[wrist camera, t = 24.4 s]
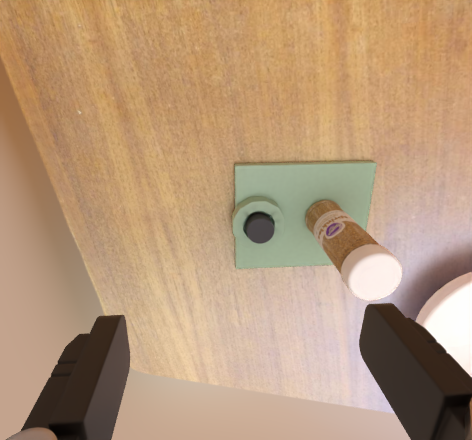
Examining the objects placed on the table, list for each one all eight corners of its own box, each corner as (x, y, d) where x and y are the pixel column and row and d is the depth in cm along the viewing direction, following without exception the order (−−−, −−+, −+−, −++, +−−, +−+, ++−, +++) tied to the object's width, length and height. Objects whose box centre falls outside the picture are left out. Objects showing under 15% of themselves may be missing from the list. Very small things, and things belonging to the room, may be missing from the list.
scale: (231, 264, 41) (233, 277, 39) (230, 163, 36) (232, 169, 34) (356, 259, 42) (367, 271, 40) (372, 160, 38) (385, 166, 35)
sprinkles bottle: (319, 192, 37) (375, 244, 25) (349, 211, 38) (416, 270, 26) (296, 223, 39) (337, 288, 26) (325, 241, 40) (378, 311, 27)
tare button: (245, 237, 37) (246, 244, 36) (245, 213, 36) (247, 219, 34) (271, 236, 37) (274, 243, 36) (272, 212, 36) (275, 218, 35)
